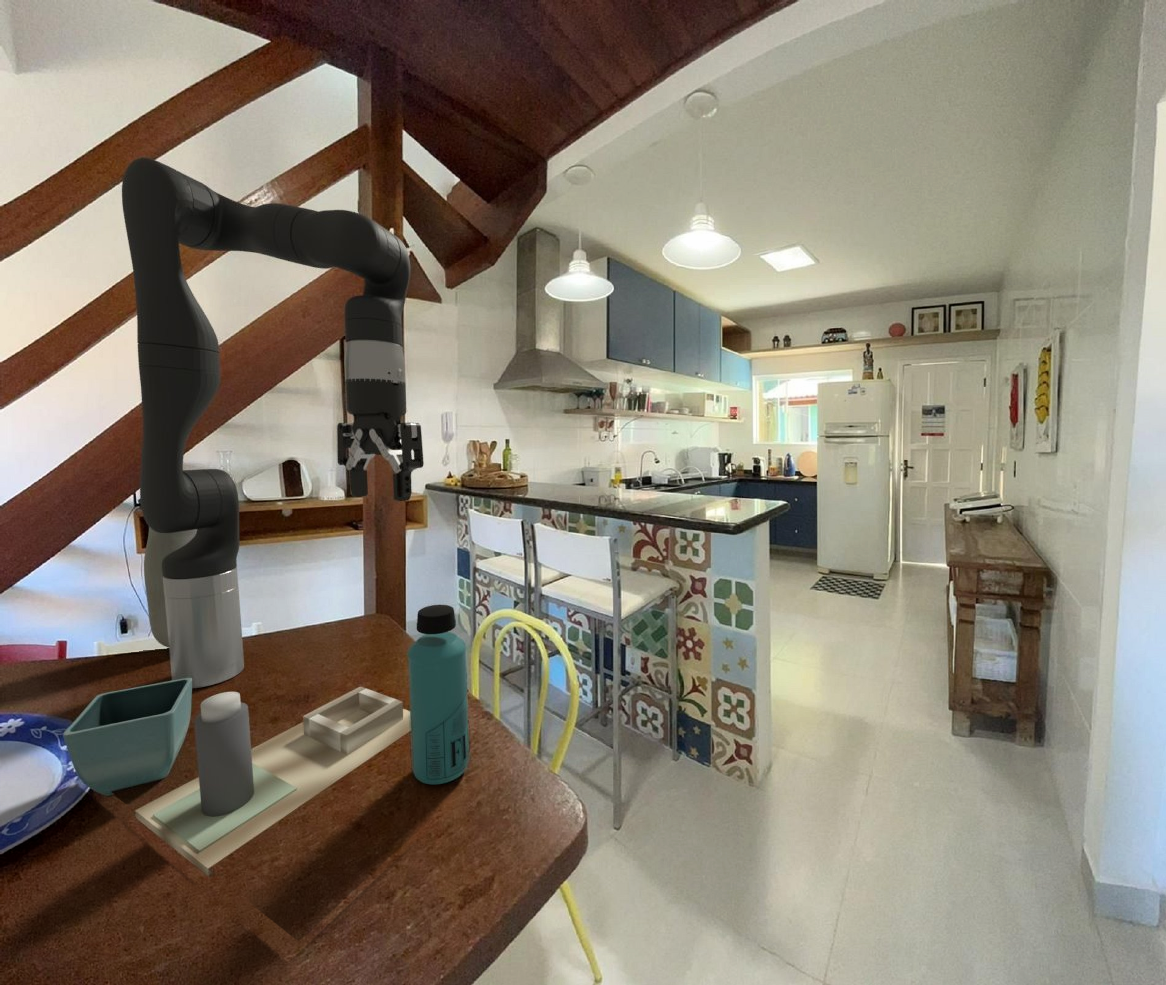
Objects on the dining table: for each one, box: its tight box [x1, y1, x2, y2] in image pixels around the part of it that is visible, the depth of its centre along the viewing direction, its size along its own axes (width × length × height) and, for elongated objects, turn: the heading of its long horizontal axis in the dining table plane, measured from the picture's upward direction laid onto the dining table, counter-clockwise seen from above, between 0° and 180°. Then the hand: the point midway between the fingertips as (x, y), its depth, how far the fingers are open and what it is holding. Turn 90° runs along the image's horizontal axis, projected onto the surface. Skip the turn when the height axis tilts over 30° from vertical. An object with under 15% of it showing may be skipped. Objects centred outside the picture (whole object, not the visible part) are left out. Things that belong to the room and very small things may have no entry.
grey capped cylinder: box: [193, 691, 254, 817], centre depth 49 cm, size 4×4×11 cm
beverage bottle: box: [407, 604, 471, 785], centre depth 54 cm, size 6×7×20 cm
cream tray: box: [134, 686, 411, 877], centre depth 57 cm, size 14×26×3 cm, turn 152°
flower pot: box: [62, 678, 193, 797], centre depth 54 cm, size 9×9×9 cm
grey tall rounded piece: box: [143, 526, 197, 648], centre depth 87 cm, size 10×10×28 cm
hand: (380, 498), depth 67 cm, fingers open, 8 cm apart
